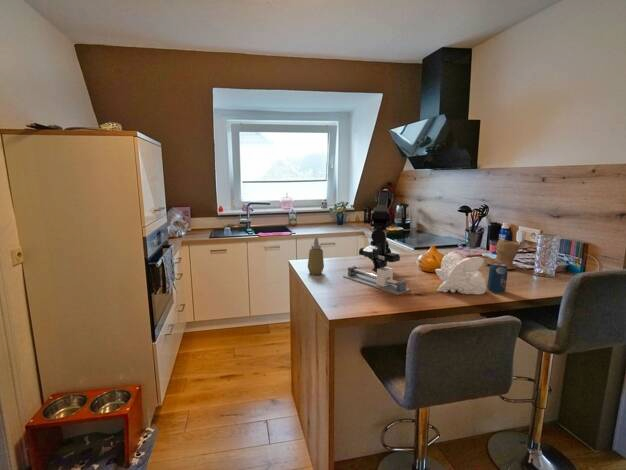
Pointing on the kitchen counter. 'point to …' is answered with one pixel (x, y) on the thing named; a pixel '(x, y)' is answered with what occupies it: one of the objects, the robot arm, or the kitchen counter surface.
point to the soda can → (497, 277)
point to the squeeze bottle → (315, 258)
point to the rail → (354, 271)
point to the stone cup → (505, 253)
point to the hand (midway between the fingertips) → (377, 273)
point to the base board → (372, 283)
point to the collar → (384, 276)
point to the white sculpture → (461, 274)
